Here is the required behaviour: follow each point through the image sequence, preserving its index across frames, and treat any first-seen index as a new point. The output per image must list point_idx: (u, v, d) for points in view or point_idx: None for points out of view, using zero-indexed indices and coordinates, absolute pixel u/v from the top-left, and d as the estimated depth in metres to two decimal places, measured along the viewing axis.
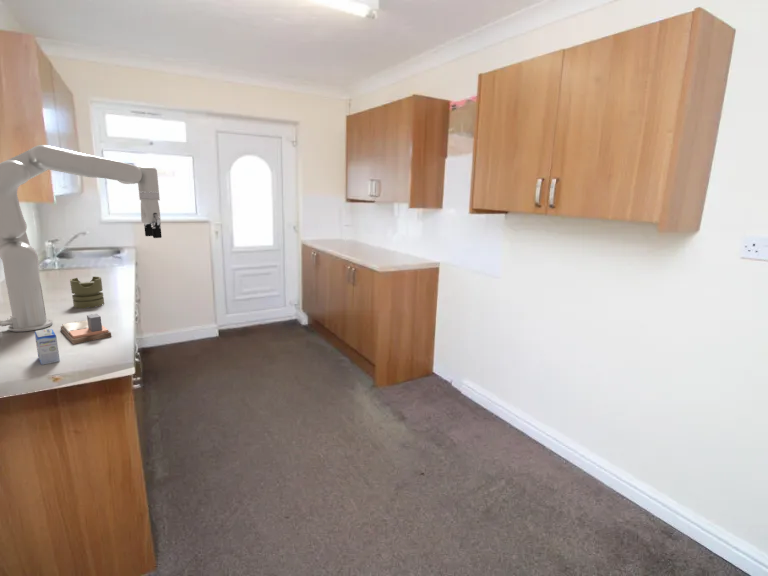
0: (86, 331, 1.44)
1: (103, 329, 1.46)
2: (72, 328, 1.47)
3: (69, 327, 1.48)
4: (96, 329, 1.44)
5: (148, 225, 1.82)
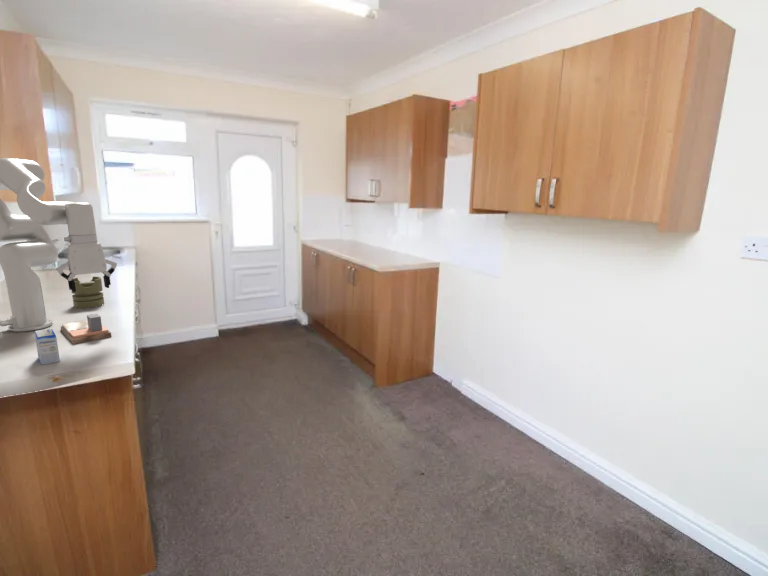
0: (86, 331, 1.44)
1: (103, 329, 1.46)
2: (72, 328, 1.47)
3: (69, 327, 1.48)
4: (96, 329, 1.44)
5: None
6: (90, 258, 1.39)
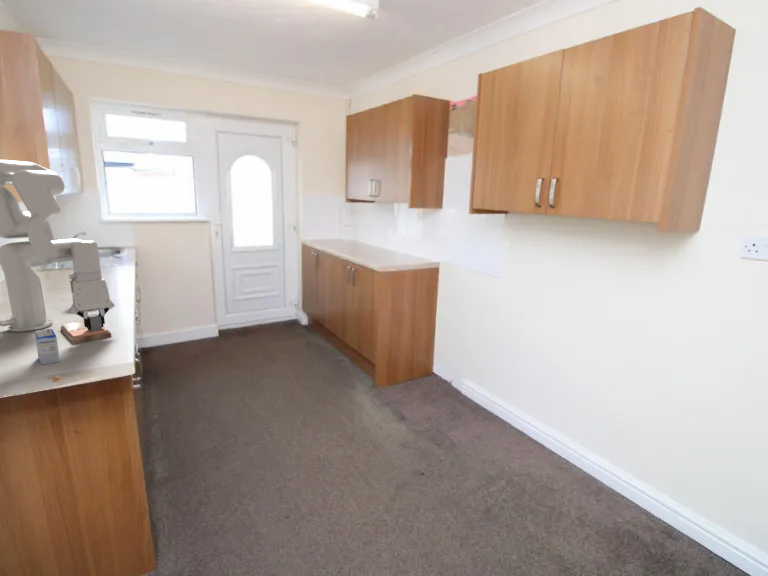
0: (86, 331, 1.44)
1: (103, 329, 1.46)
2: (72, 328, 1.47)
3: (69, 327, 1.48)
4: (96, 329, 1.44)
5: None
6: (94, 294, 1.42)
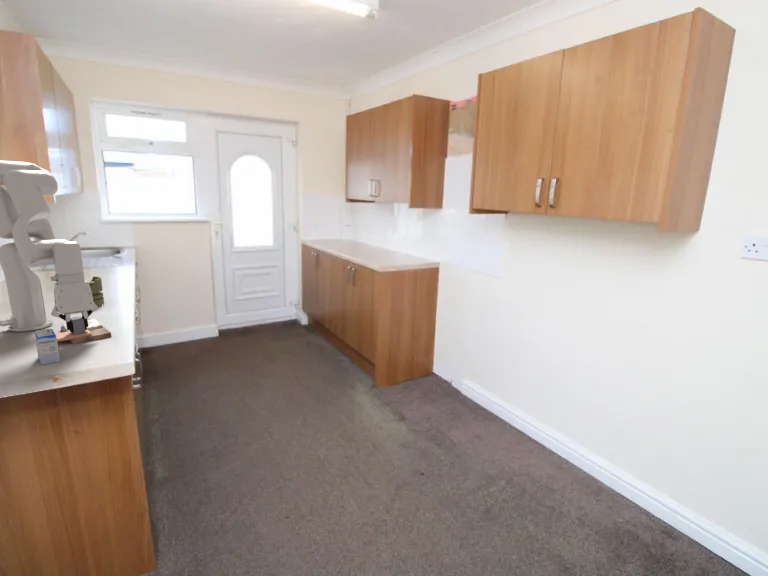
0: (69, 334, 1.40)
1: (86, 332, 1.43)
2: None
3: None
4: (79, 332, 1.41)
5: None
6: (77, 297, 1.38)
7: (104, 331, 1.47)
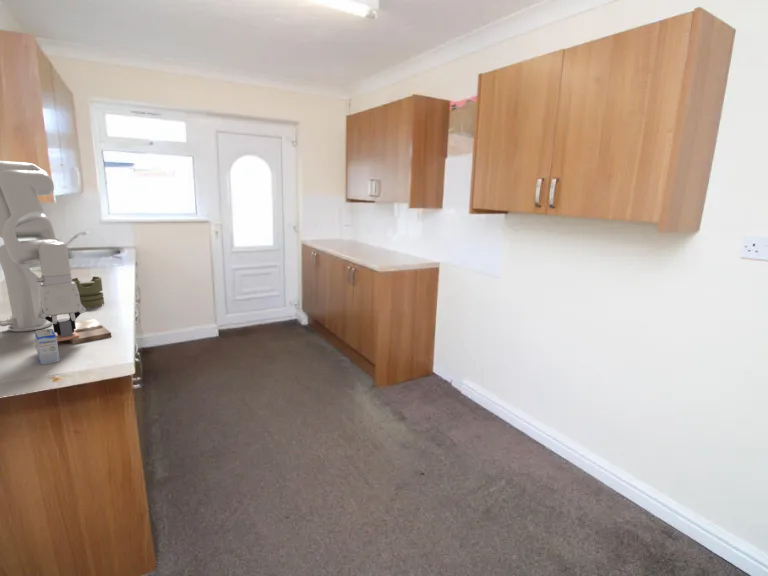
0: (56, 336, 1.38)
1: (74, 334, 1.40)
2: None
3: None
4: (66, 334, 1.38)
5: None
6: (64, 298, 1.36)
7: (104, 331, 1.47)
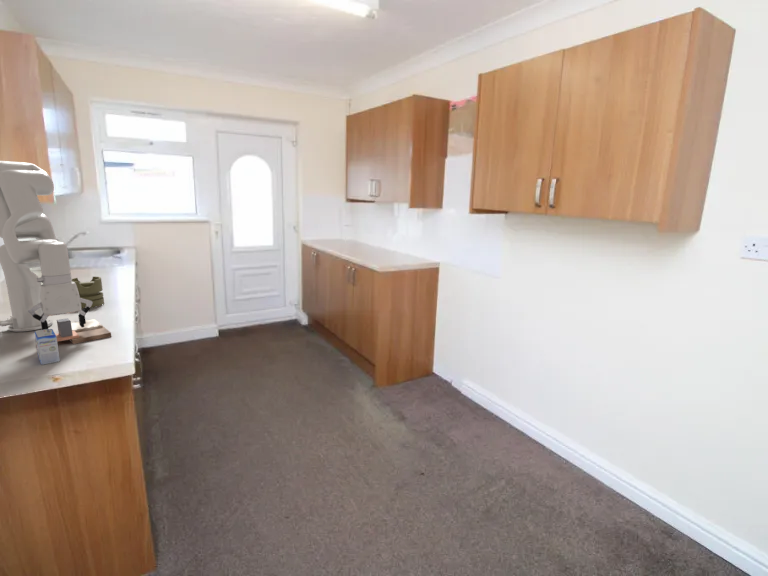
0: (56, 336, 1.38)
1: (74, 334, 1.40)
2: (72, 328, 1.47)
3: None
4: (66, 334, 1.38)
5: None
6: (64, 298, 1.36)
7: (104, 331, 1.47)
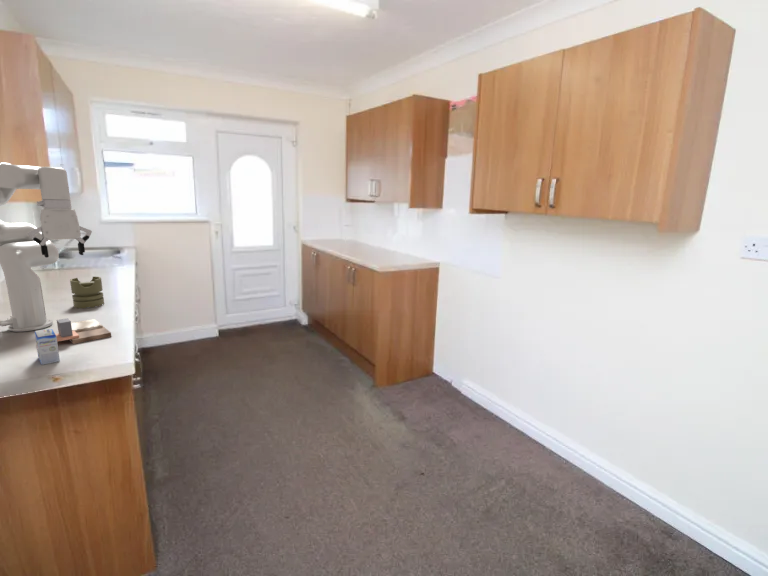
0: (56, 336, 1.38)
1: (74, 334, 1.40)
2: (72, 328, 1.47)
3: None
4: (66, 334, 1.38)
5: None
6: (63, 224, 1.38)
7: (104, 331, 1.47)
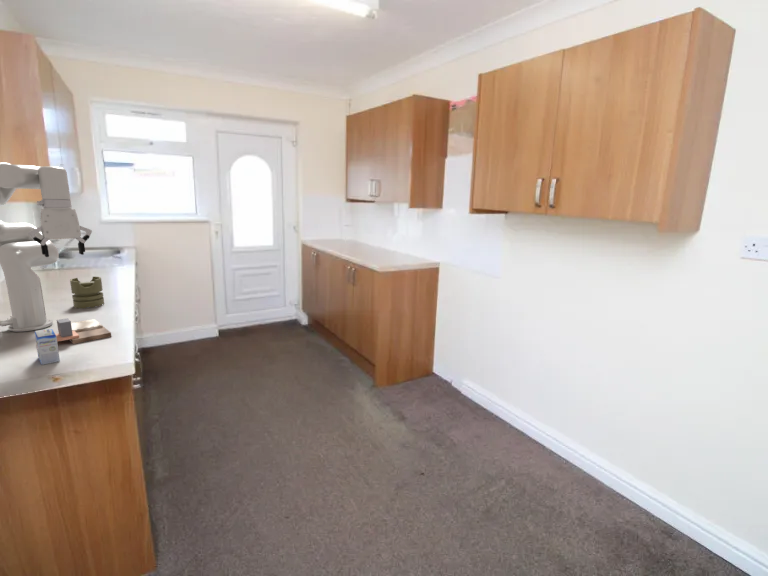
0: (56, 336, 1.38)
1: (74, 334, 1.40)
2: (72, 328, 1.47)
3: None
4: (66, 334, 1.38)
5: None
6: (64, 223, 1.39)
7: (104, 331, 1.47)
